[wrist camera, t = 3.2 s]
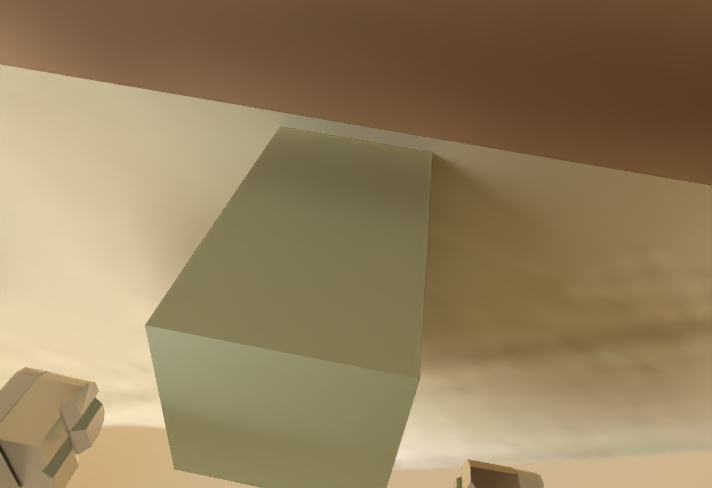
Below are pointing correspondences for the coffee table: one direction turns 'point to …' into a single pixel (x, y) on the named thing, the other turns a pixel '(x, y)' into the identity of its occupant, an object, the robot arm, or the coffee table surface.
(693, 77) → the walnut stand
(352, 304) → the sage plug
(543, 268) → the coffee table surface
